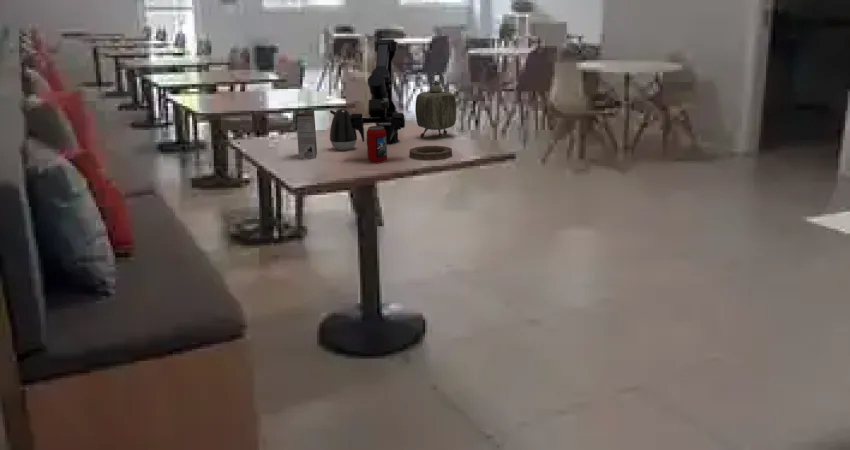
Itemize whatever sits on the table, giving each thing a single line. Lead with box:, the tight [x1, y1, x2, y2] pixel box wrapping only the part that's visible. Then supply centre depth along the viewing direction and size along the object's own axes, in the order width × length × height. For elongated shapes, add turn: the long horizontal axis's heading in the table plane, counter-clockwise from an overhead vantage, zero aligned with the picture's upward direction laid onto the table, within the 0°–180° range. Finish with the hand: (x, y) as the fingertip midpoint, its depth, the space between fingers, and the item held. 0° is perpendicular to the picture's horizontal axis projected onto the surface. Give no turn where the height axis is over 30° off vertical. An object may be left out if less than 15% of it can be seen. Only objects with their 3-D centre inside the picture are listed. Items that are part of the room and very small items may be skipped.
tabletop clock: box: [415, 72, 457, 138], centre depth 323 cm, size 14×9×25 cm, turn 121°
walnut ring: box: [409, 145, 453, 161], centre depth 293 cm, size 15×15×2 cm
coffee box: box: [295, 109, 318, 160], centre depth 296 cm, size 9×6×16 cm
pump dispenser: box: [329, 108, 358, 151], centre depth 307 cm, size 10×10×15 cm
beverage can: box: [366, 125, 388, 163], centre depth 285 cm, size 7×7×12 cm
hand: (376, 140), depth 284 cm, fingers open, 9 cm apart
